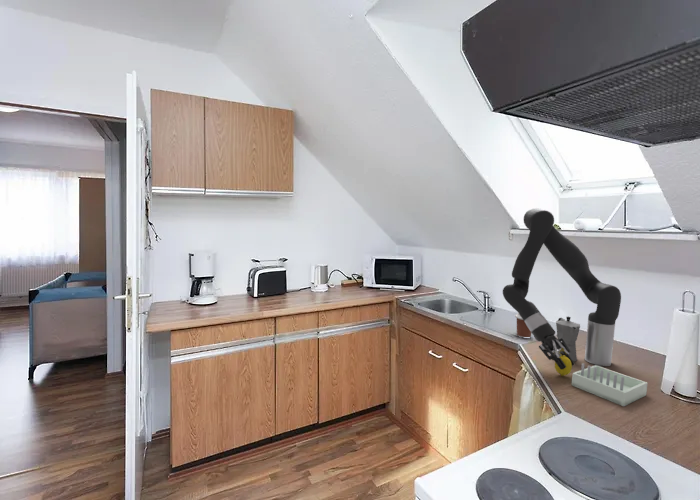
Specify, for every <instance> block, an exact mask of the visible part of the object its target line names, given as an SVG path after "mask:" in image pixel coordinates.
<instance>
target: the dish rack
mask: <svg viewBox="0 0 700 500" xmlns="http://www.w3.org/2000/svg"><path fill="white" fill-rule="evenodd" d="M571 386H573V388H574V387H575V388H577V389H580V390H582V391H584V392H587V393H589V394H592V395H594V396H597V397H600V398H602V399H604V400H607V401H609V402H612V403H614V404H617V405H619V406H622V407H626V406H627V405H630V404H631V403H633V402H635V401H638V400H639V399H643V397H644V398H645V396H647V392H648V382H647V381H644V380H641V379H638V378H636V377H633V376H629V375H625V374H623V373H620V372H617V371H614V370H611V369H609V368H605V367H604V366H600V365H595V364H594V365H592V366H591V365H587V367H586V368H585V363H581V369H579V370H577V371H574V372H572V378H571Z"/></svg>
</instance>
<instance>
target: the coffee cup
mask: <svg viewBox="0 0 700 500" xmlns="http://www.w3.org/2000/svg"><path fill="white" fill-rule="evenodd" d="M514 318H516V337H518V336H519V337H518V338H521V337H531V338H532V333H531V331H530V330H529V328H528V327H527V325H526V323H525V322H524V320H523V319H522V317H521V316H520V314H519V313H518V312H517V313H516V314H514Z"/></svg>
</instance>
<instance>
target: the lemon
mask: <svg viewBox="0 0 700 500" xmlns="http://www.w3.org/2000/svg"><path fill="white" fill-rule="evenodd" d="M559 358H561V360H562V361H563V363H564V364H565V365H566V368H564V369H562V370H561V369H560V368H559V366H558V365H557V364H556V362H555V361H554V369H555V371H556V372H557V373H558V374H559V375H560V376H561V377H564V376H567V375H569V374H570V373H572V368H573V366H572V364H571V361H570V359H569V358H567V357H566V356H565V355H563V356H559Z"/></svg>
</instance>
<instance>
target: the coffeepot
mask: <svg viewBox="0 0 700 500" xmlns="http://www.w3.org/2000/svg"><path fill="white" fill-rule="evenodd" d="M555 324H556V325H555V327H556V338H557V339H560V338H562V339H563V340H564V342H565V343H566V345H567V347H568V348H569V350H570V353H569V356H570V357H571V359H572V360H573V361H574V362H576V361H578V356H577V344H576V342H577V340H578V338H579V337H578V335H579V333H580V329H581V323H577V322H574V321H571V316H566V319H564V318H562V317H559V318H558V320H556V321H555ZM565 350H566V348H565ZM561 352H562V351H561ZM562 353H563V352H562ZM554 355H555V354H554ZM558 355H559V356H561V355H560V354H559V353H558Z"/></svg>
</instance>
